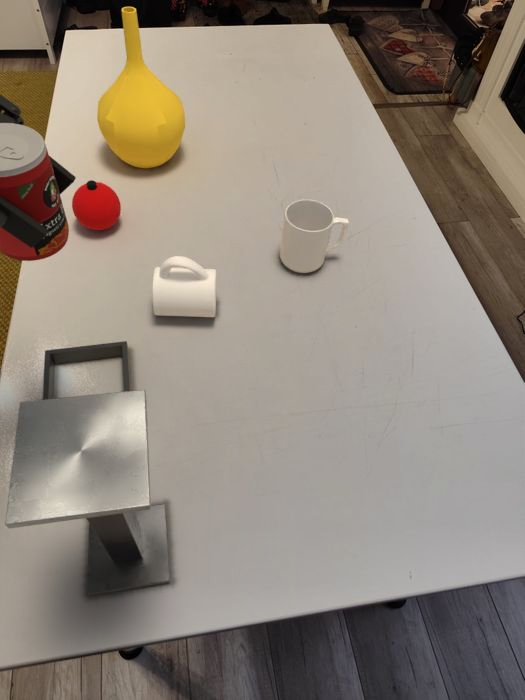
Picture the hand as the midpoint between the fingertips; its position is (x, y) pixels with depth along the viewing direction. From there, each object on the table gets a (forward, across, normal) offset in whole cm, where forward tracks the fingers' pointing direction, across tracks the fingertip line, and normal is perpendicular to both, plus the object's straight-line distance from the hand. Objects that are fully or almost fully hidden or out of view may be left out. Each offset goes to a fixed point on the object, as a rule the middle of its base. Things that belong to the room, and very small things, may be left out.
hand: (54, 211), depth 53 cm
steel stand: (+31, +22, -19) cm, 43 cm away
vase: (+19, -63, -31) cm, 73 cm away
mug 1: (+31, -20, -19) cm, 42 cm away
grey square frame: (+23, -1, -28) cm, 36 cm away
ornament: (+17, -38, -34) cm, 54 cm away
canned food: (+1, 0, -5) cm, 5 cm away
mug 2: (+46, -36, -4) cm, 58 cm away
